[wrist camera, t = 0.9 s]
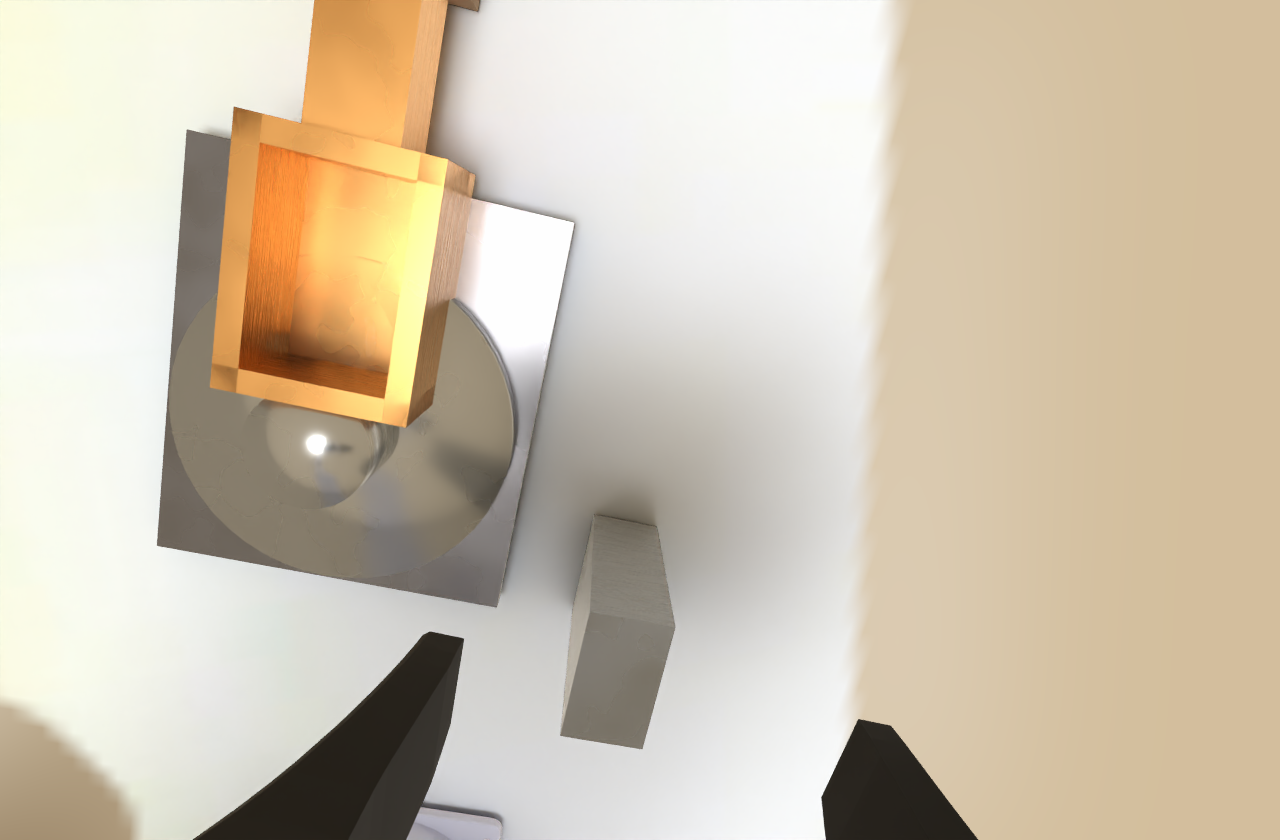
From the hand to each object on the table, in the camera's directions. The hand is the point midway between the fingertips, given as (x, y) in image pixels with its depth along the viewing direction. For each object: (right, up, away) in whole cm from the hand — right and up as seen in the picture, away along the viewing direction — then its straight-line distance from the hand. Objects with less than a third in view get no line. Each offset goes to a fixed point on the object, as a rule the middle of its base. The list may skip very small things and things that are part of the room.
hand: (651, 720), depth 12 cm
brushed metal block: (-1, 0, +14) cm, 14 cm away
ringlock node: (-9, +10, +11) cm, 17 cm away
